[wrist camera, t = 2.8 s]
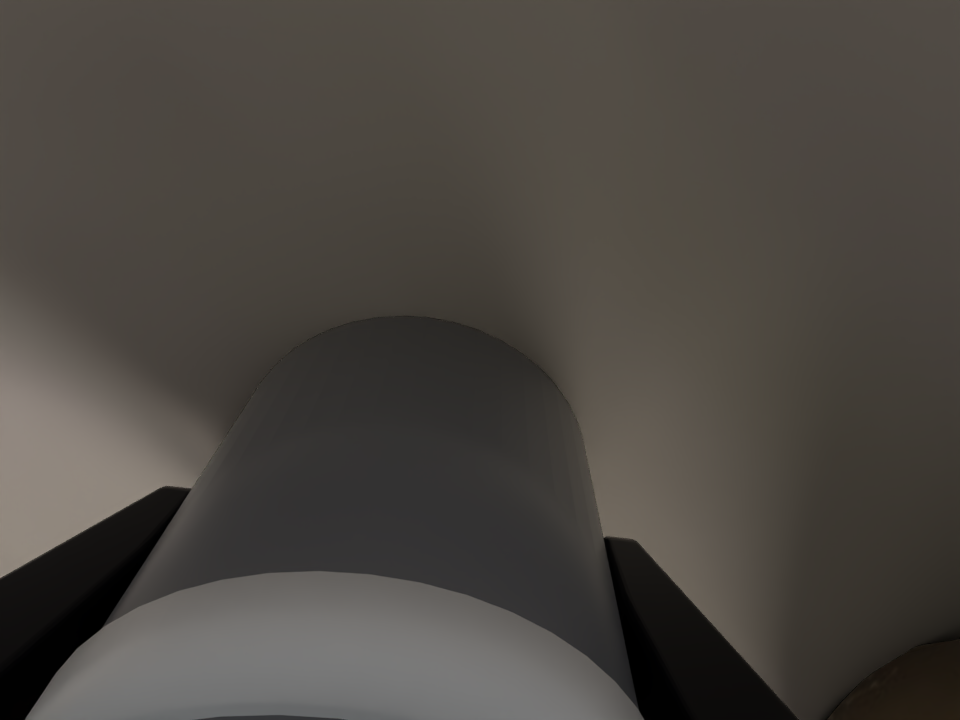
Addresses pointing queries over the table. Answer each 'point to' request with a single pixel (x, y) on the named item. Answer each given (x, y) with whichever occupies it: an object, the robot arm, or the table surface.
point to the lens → (374, 552)
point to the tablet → (909, 687)
